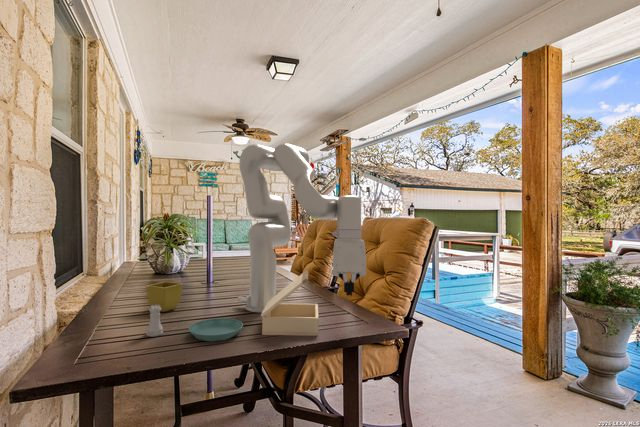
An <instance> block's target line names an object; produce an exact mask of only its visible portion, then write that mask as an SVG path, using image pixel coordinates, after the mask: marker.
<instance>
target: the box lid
mask: <svg viewBox="0 0 640 427" xmlns="http://www.w3.org/2000/svg"><path fill="white" fill-rule="evenodd" d="M308 281H309V270H308V269H305V270H304V271H303V272H302V273H301V274H300V275H299V276H297V277H295V279H294V280H292V281H291V282H290V283H289V284H287V285H286V286H285V287H284V288H282V289H281V290H280V291H279V292H278V293H276V295H275V296H274V297H273V298H271V299H270V300H269V301H268V302H267V304H266V306H265V308H264V310H263V312H262V313H261V314H260V316H261V318H263V317H264V316H265V315H266V314H267V313H269V312H270V311H271V310H272V309H273V308H275V307H276V306H277V305H278V304H280V303H282V302H284V301H285V300H286V299H287V298H288V297H290V296H291V295H292V294H294V293H295V292H296V291H298V289H300V288H301V287H302V286H303V285H305V284H307V282H308Z"/></svg>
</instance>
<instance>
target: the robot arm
mask: <svg viewBox="0 0 640 427" xmlns="http://www.w3.org/2000/svg"><path fill="white" fill-rule="evenodd" d="M239 156H240V157H239V163H238V164H239V172H240V174H241V179H242V181H243V186H244V192H245V199H246V206H247V210H248V213H249V216H250V217H251V218H253V219H256V220H257V219H258V220H268V221H260V222H256V223H253V224H252V225H251V227H250V228H249V230H248V234H247V240H248V244H249V246H248V247H249V252H250V256H249V257H250V261H249V262H250V263H249V266H250V267H249V295H246V296H237V302H239V303H241V304H243V303H244V304H245V305H244V309H245V310H246V311H247V312H251V313H261V314H262V312H263V310H264V308H265V306H266V304H267V302H268V301H269V300H270V299H271V298H273V297H274V296H275V295H276V294H277V264H278V263H277V255H276V253H275V250H274V248H279V247H284V246H286V245H288V243H290V240H291V237H292V236H291V234H292V230H291V229H292V228H291V223H290V219H289V214H288V208H287V204H286V202H285V200H284V199H283V198H282V197H281V196H279V195H277V194H270V192H269V188H268V182H267V179H266V177H265V175H264V174H263V172H262V170H268V171H272V172H283V173H284V175H285V177H287V178H288V180H289V181H290V182H291V183H292V185H293V192H294V196H295V197H294V198H295V199H296V201H297V202H298V204H299V205H300V207H301V208H302V209H303V210H304V211H305V212H306V214H307V215H309V216H310V217H311V218H313V219H316V220H336V231H332V234H331V235H332V237H336V239H335V240H334V242H333V251H332V272H331V276H334V277H338V278H340V279H341V280H342V281H343V292H344V293H345V295H346V296H347V297H349V296H353V293H355V283H356V281H357V280H358V278H361V277H364V276H367V257H366V256H367V254H366V245H365V244H366V243H365V240H364V239H362V199H361V197H359V196H357V195H341V196H331V195H324V194H321V193H320V192H319V190H317V188H315V186H314V185H313V183H312V181H313V179H314V177H315V170H314V168H313V167H312V166H311V165H310V164H309V163H310V156H309V152H308V151H307V150H306V149H304V148H302V147H301V146H297V145H294V144H291V143H280V144H278V145H277V146H275V148H273V147H270V146H266V145H263V144H256V143H255V144H249V145H248V146H246V147H245V148H244V149H243V150H242V152H241V154H240V155H239ZM261 169H262V170H261ZM347 274H350V279H349V278H348V275H347Z"/></svg>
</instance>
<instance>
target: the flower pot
mask: <svg viewBox="0 0 640 427" xmlns="http://www.w3.org/2000/svg"><path fill="white" fill-rule="evenodd" d="M183 285H184V283H181V282H170V281H162V282H161V281H160V282H156V283H152V284H148V285H146V286H145V287H146V295H147V300H148V304H149V306H152V305H153V307H154V306H155V305H156V306H158V305H160V307H161V308H162V309H161V311H160V312H162V313H163V312H164V313H165V312H169V311H172V310H174V309H176V308H177V306H178V305H179V303H180V302H181V299H182V293H183Z"/></svg>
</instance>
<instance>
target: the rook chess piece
mask: <svg viewBox="0 0 640 427" xmlns="http://www.w3.org/2000/svg"><path fill="white" fill-rule="evenodd" d="M149 306H150V307H149V308H148V309H149V310H148V311H149V312H150V314H149V317H150V319H149V324H148V326H147V328H146V333H145V335H146V336H147V337H148V338H149V337H150V338H151V337H152V338H153V337H154V338H155V337H160V336H161V335H163V334H164V331H163V330H164V327H163V326H162V324H161V317H160V316H161V313H160V312H162V311H161V309H162V308H161V307H160V305H158V306H156V305H155V306H154V307H153V305H152V306H151V305H149Z"/></svg>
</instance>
